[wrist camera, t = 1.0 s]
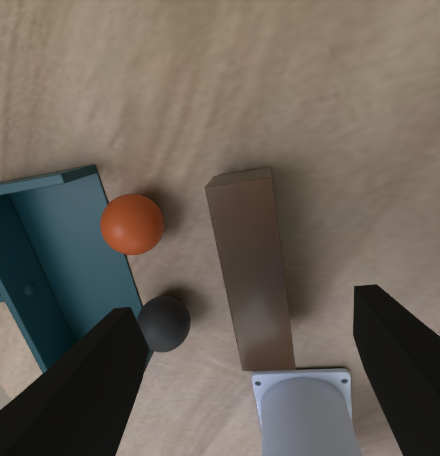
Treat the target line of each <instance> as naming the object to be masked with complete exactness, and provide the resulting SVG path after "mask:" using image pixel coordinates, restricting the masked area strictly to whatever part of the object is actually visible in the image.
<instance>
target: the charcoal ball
mask: <svg viewBox="0 0 440 456" xmlns="http://www.w3.org/2000/svg"><path fill="white" fill-rule="evenodd" d="M137 322H138V324H139V326H140V329H141V331H142V333H143V335H144V337H145V340H146V342H147V344H148V346H149V349H150V350H152V351H156V352H167V351H171V350H173V349H175V348H177V347H178V346H179V345H181V344H182V343H183V341H184V340H185V339H186V337H187V335H188V333H189V329H190V315H189V312H188V310H187V308H186V307H185V305H184V304H183V303H182V302H181V301H179V300H178V299H176V298H174V297H170V296H159V297H156V298H153V299H152V300H150V301H148V302H147V303H146V304H145V305H144V306H143V307H142V309H141V310H140V312H139V314H138V317H137Z"/></svg>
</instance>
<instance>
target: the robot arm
mask: <svg viewBox="0 0 440 456" xmlns="http://www.w3.org/2000/svg"><path fill="white" fill-rule="evenodd" d="M353 336H354V339H355V342H356V346H357V349H358V352H359V355H360V358H361V361H362V364H363V367H364V370H365V372H366V374H367V376H368V379H369V381H370V383H371V385H372V388H373V390H374V392H375V394H376V397H377V399H378V401H379V403H380V405H381V408H382V410H383V412H384V414H385V417H386V419H387V421H388V423H389V425H390V428H391V430H392V432H393V434H394V436H395V439H396V441H397V443H398V445H399V447H400V450H401V452H402V454H403V456H440V336H439V335H437V334H436V333H435V332H434V331H432V330H431V329H430V328H428V327H427V326H426V325H425V324H424V323H422V322H421V321H420V320H419V319H417V318H416V317H415V316H414V315H413V314H411V313H410V312H409V311H408V310H407V309H405V308H404V307H403V306H402V305H401V304H399V303H398V302H397V301H396V300H395V299H394V298H392V297H391V296H390V295H389V294H388V293H386V292H385V291H384V290H383V289H382V288H380V287H379V286H378V285H377V284H375V285H364V286H354V321H353ZM148 352H149V346H148V344H147V342H146V340H145V337H144V335H143V333H142V331H141V329H140V326H139V324H138V322H137V320H136V317H135V315H134V313H133V311H132V309H131V307H122V308H114V309H113V310H112V311H110V312H109V313H108V314H107V315H106V316H105V317H104V318H103V319H101V320H100V321H99V322H98V323H97V324H96V325H95V326H94V327H93V328H92V329H91V330H90V331H89V332H88V333H87V334H85V335H84V336H83V337H82V338H81V339H80V340H79V341H78V342H77V343H76V344H75V345H74V346H73V347H72V348H71V349H69V350H68V351H67V352H66V353H65V354H64V355H63V356H62V357H61V358H60V359H59V360H58V361H57V362H56V363H54V364H53V365H52V366H51V367H50V368H49V369H48V370H46V371H45V372H44V373H43V374H42V375H41V376H40V377H39V378H37V379H36V380H35V381H34V382H33V383H32V384H31V385H29V386H28V387H27V388H26V389H25V390H24V391H23V392H22V393H20V394H19V395H18V396H17V397H16V398H14V399H13V400H12V401H11V402H10V403H9V404H7V405H6V406H5V407H3V408H2V409H1V410H0V456H115V455H116V452H117V450H118V447H119V444H120V441H121V438H122V436H123V433H124V430H125V427H126V424H127V422H128V419H129V416H130V413H131V410H132V408H133V405H134V402H135V399H136V396H137V393H138V390H139V387H140V384H141V381H142V378H143V374H144V370H145V366H146V361H147V356H148ZM251 380H252V385H253V390H254V395H255V400H256V405H257V410H258V416H259V421H260V426H261V431H262V456H362V453H361V450H360V446H359V443H358V440H357V437H356V433H355V430H354V427H353V424H352V403H351V376H350V373H349V371H348V370H347V369H344V368H338V369H308V370H278V371H255V372H253V373H252V374H251ZM257 381H259V382H257Z"/></svg>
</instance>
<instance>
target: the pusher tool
mask: <svg viewBox="0 0 440 456" xmlns="http://www.w3.org/2000/svg"><path fill="white" fill-rule="evenodd" d="M9 195H10V197H11V199H10V197H9ZM11 200H12V201H11ZM12 202H13V203H12ZM13 204H14V205H13ZM107 205H108V202H107V199H106V196H105V193H104V190H103V187H102V184H101V181H100V178H99V175H98V172H97V169H96V166H95V164H93V165H88V166H83V167H77V168H72V169H67V170H62V171H56V172H51V173H46V174H40V175H35V176H30V177H25V178H19V179H14V180H9V181H4V182H0V302H6V304H7V306H8V308H9V310H10V312H11V314H12V316H13V318H14V320H15V321H16V323H17V325H18V327H19V329H20V331H21V333H22V335H23V337H24V339H25V340H26V342H27V344H28V346H29V348H30V350H31V352H32V354H33V356H34V358H35V359H36V361H37V363H38V365H39V367H40V369H41V371H42V373H44V372H45V371H46V370H48V369H49V368H50V367H51V366H52V365H53V364H54V363H56V362H57V361H58V360H59V359H60V358H61V357H62V356H63V355H64V354H65V353H66V352H67V351H68V350H69V349H71V348H72V347H73V346H74V345H75V344H76V343H77V342H78V341H79V340H80V339H81V338H82V337H83V336H84V335H85V334H87V333H88V332H89V331H90V330H91V329H92V328H93V327H94V326H95V325H96V324H97V323H98V322H99V321H100V320H101V319H103V318H104V317H105V316H106V315H107V314H108V313H109V312H110V311H112V310H113V309H114V308H122V307H131V309H132V311H133V313H134V315H135V317H136V320H137V317H138V314H139V312H140V310H141V309H142V304H141V301H140V298H139V295H138V292H137V289H136V286H135V283H134V280H133V277H132V274H131V271H130V268H129V265H128V262H127V259H126V256H125V254H122V253H119V252H117V251H115V250H114V249H112V248H111V247H110V246H109V245H108V244H107V243H106V241H105V240H104V238H103V236H102V233H101V228H100V221H101V216H102V213H103V211H104V209H105V208H106V206H107ZM14 206H15V208H16V210H15V208H14ZM16 211H17V212H16ZM17 213H18V214H17ZM18 215H19V216H18ZM19 217H20V219H19ZM20 220H21V221H20ZM21 222H22V223H21ZM22 224H23V225H22ZM23 226H24V228H25V230H24V228H23ZM25 231H26V232H25ZM26 233H27V234H26ZM27 235H28V236H27ZM28 237H29V239H30V241H29V239H28ZM30 242H31V243H30ZM31 244H32V245H31ZM32 246H33V247H32ZM33 248H34V250H33ZM34 251H35V252H34ZM35 253H36V254H35ZM36 255H37V256H36ZM37 257H38V258H37ZM38 259H39V261H38ZM39 262H40V263H39ZM40 264H41V265H40ZM41 266H42V267H41ZM42 268H43V270H42ZM43 271H44V272H43ZM44 273H45V274H44ZM45 275H46V276H45ZM46 277H47V278H46ZM47 279H48V281H47ZM48 282H49V283H48ZM49 284H50V285H49ZM50 286H51V287H50ZM51 288H52V289H51ZM52 290H53V292H52ZM53 293H54V294H53ZM54 295H55V296H54ZM55 297H56V298H55ZM56 299H57V301H56ZM57 302H58V303H57ZM58 304H59V305H58ZM59 306H60V307H59ZM60 308H61V309H60ZM61 310H62V312H61ZM62 313H63V314H62ZM63 315H64V316H63ZM64 317H65V318H64ZM65 319H66V320H65ZM66 321H67V323H66ZM67 324H68V325H67ZM68 326H69V327H68ZM69 328H70V329H69ZM70 330H71V331H70ZM71 333H72V334H71ZM72 335H73V336H72ZM73 337H74V338H73ZM74 339H75V340H74ZM75 341H76V343H75ZM153 352H154V351H152V350H150V349H149V352H148V356H147V361H146V366H145V370H146V367H147V365H148V363H149V361H150V358H151V356H152V354H153ZM145 370H144V372H145Z"/></svg>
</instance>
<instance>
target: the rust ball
mask: <svg viewBox="0 0 440 456" xmlns="http://www.w3.org/2000/svg"><path fill="white" fill-rule="evenodd" d="M100 228H101V233H102V236H103V238H104V240H105V241H106V243H107V244H108V245H109V246H110V247H111V248H112V249H114V250H115V251H117V252H119V253H122V254H126V255H139V254H142V253H145V252H147V251H149V250H151V249H152V248H153V247H154V246H156V245H157V243H158V242H159V241H160V239H161V237H162V234H163V231H164V218H163V215H162V212H161V210H160V209H159V207H158V206H157V205H156V204H155V203H154V202H153V201H152V200H150V199H149V198H147V197H145V196H142V195H137V194H127V195H122V196H120V197H117V198H116V199H114V200H113V201H111V202H110V203H109V204H108V205H107V206H106V208H105V209H104V211H103V213H102V216H101V221H100Z"/></svg>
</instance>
